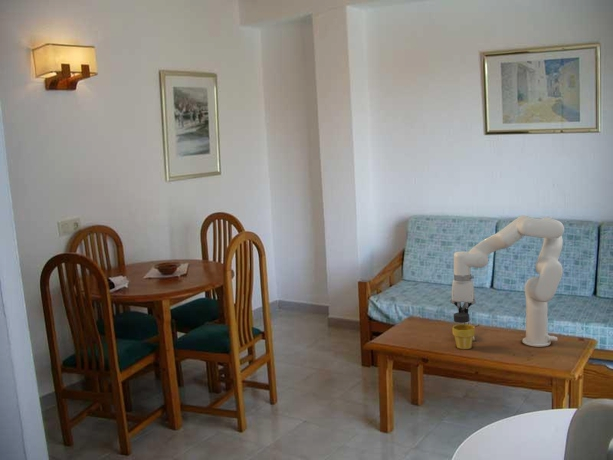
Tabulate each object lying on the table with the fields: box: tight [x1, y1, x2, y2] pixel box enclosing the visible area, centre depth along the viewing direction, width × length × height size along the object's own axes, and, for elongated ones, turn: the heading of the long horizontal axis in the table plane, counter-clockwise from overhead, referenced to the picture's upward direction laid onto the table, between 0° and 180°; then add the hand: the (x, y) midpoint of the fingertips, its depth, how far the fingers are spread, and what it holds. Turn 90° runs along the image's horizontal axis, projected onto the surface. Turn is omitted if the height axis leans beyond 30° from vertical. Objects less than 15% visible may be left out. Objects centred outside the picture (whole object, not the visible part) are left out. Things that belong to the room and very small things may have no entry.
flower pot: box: [452, 323, 476, 350], centre depth 311 cm, size 10×10×10 cm
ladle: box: [453, 302, 470, 324], centre depth 313 cm, size 21×7×4 cm, turn 159°
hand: (463, 315), depth 312 cm, fingers closed on ladle
